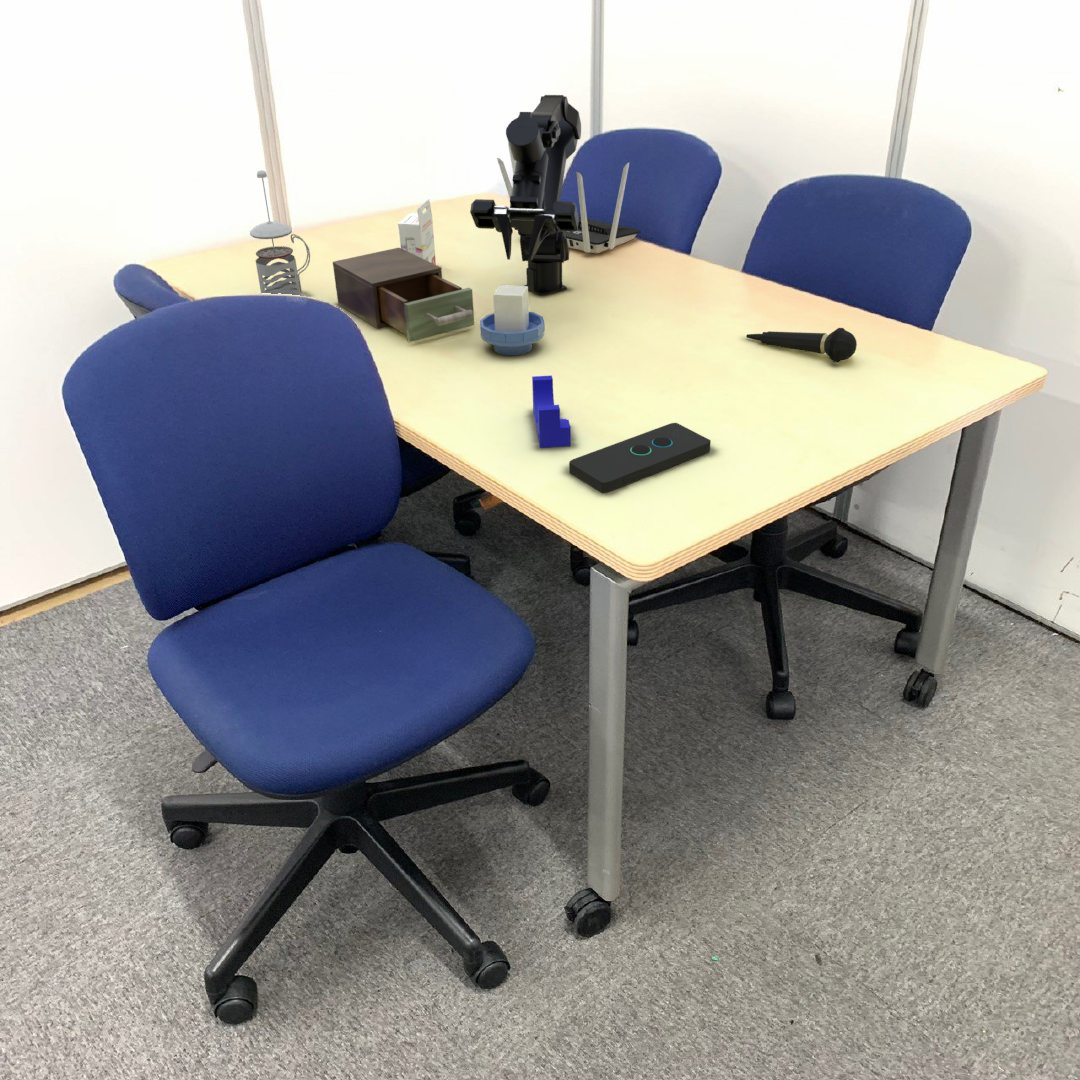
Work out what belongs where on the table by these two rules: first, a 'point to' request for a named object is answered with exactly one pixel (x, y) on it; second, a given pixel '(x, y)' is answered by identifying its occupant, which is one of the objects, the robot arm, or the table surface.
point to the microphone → (813, 342)
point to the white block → (511, 308)
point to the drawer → (425, 306)
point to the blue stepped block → (548, 415)
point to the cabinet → (375, 279)
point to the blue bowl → (512, 335)
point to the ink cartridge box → (418, 233)
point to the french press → (277, 257)
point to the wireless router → (589, 231)
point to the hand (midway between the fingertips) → (519, 259)
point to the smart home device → (639, 457)
